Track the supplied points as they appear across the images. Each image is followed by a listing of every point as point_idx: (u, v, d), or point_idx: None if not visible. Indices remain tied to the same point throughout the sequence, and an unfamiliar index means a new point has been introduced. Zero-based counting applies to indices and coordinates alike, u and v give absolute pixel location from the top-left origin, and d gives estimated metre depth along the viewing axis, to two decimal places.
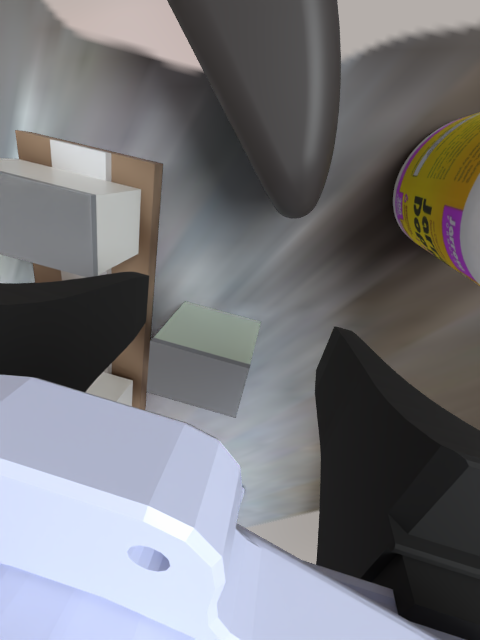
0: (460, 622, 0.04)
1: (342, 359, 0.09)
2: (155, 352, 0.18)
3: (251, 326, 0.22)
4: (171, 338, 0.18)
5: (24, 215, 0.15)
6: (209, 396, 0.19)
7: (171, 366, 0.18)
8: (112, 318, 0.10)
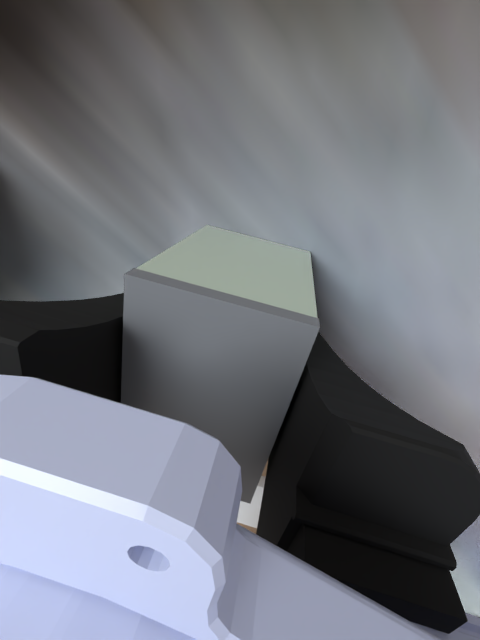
0: (351, 586, 0.04)
1: None
2: None
3: None
4: None
5: None
6: (242, 385, 0.07)
7: None
8: None
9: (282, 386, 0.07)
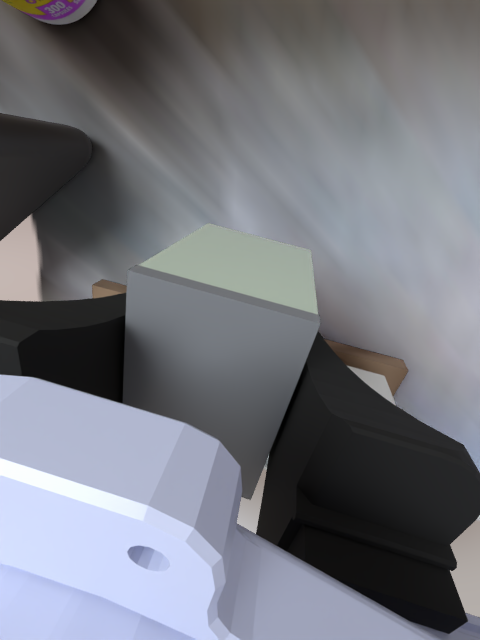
0: (351, 586, 0.04)
1: None
2: None
3: None
4: None
5: None
6: (243, 381, 0.07)
7: None
8: None
9: (283, 382, 0.07)
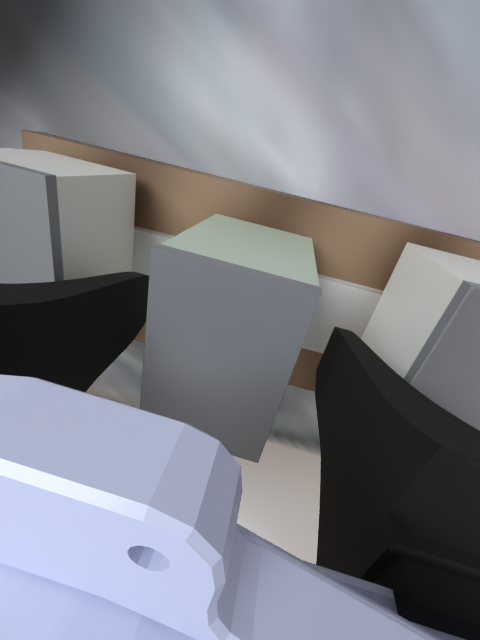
0: (460, 622, 0.04)
1: (342, 359, 0.09)
2: None
3: None
4: None
5: None
6: (252, 348, 0.08)
7: (186, 406, 0.09)
8: (112, 318, 0.10)
9: (288, 348, 0.08)
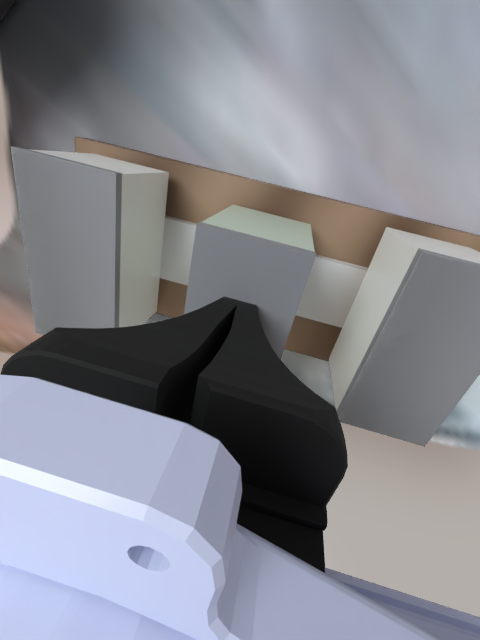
0: None
1: None
2: None
3: None
4: None
5: (60, 251, 0.13)
6: (266, 298, 0.11)
7: None
8: (218, 349, 0.09)
9: (292, 297, 0.11)
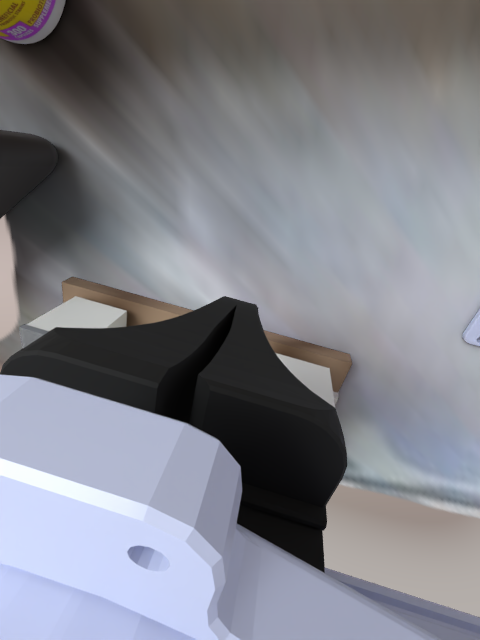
0: None
1: None
2: None
3: None
4: None
5: None
6: None
7: None
8: (218, 349, 0.09)
9: None
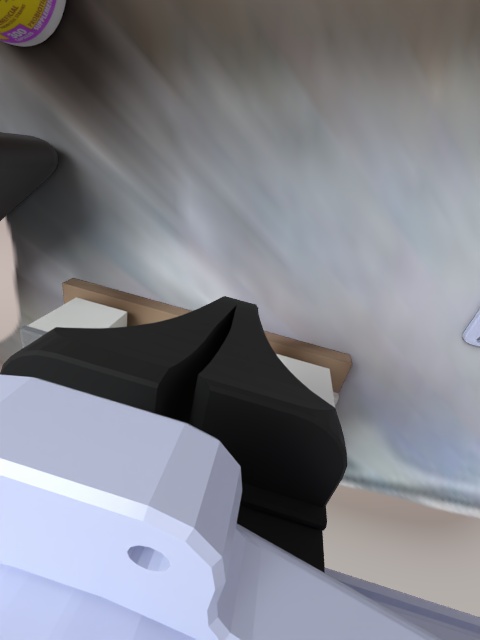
0: None
1: None
2: None
3: None
4: None
5: None
6: None
7: None
8: (218, 349, 0.09)
9: None
